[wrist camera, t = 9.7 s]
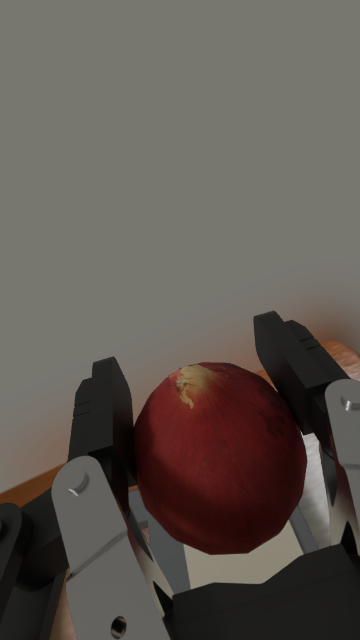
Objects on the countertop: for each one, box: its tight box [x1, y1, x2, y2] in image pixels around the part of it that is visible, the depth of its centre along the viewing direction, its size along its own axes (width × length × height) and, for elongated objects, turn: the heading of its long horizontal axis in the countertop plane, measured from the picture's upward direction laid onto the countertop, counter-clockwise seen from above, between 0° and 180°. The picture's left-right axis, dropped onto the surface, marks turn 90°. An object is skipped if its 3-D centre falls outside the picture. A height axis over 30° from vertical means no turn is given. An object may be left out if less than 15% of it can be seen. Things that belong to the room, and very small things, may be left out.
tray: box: [128, 490, 319, 595], centre depth 19 cm, size 20×12×1 cm, turn 101°
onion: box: [133, 362, 307, 555], centre depth 11 cm, size 6×6×8 cm
